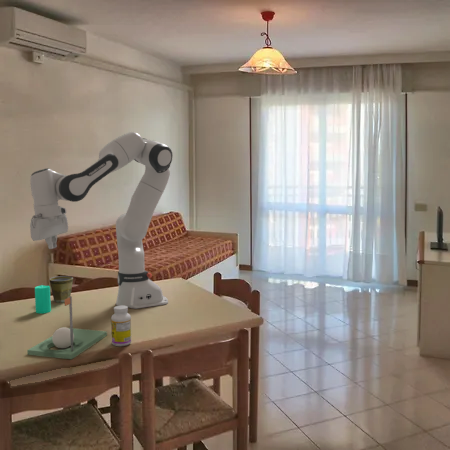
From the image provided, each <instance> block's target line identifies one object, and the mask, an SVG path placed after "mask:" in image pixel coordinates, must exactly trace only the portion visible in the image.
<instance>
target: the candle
mask: <svg viewBox="0 0 450 450" xmlns="http://www.w3.org/2000/svg"><path fill="white" fill-rule="evenodd" d="M51 299H52V298H51V286H50V285H43V284H41V285H38V286H35V287H34V300H35V301H34V304H35V313H36V314H41V315H42V314H48V313H51V312H52V304H51V301H52V300H51Z"/></svg>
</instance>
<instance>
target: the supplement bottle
mask: <svg viewBox="0 0 450 450" xmlns="http://www.w3.org/2000/svg"><path fill="white" fill-rule="evenodd" d="M128 309H129V307H127V306H123V305H121V306H118V305H116V306H114V307H113V312H114V314H112V315H111V318H110V322H111V323H110V324H111V344H112V345H113V346H116V347H124V346H128V345H130V344H132V316H131V314H130V313H128V311H129V310H128Z"/></svg>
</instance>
